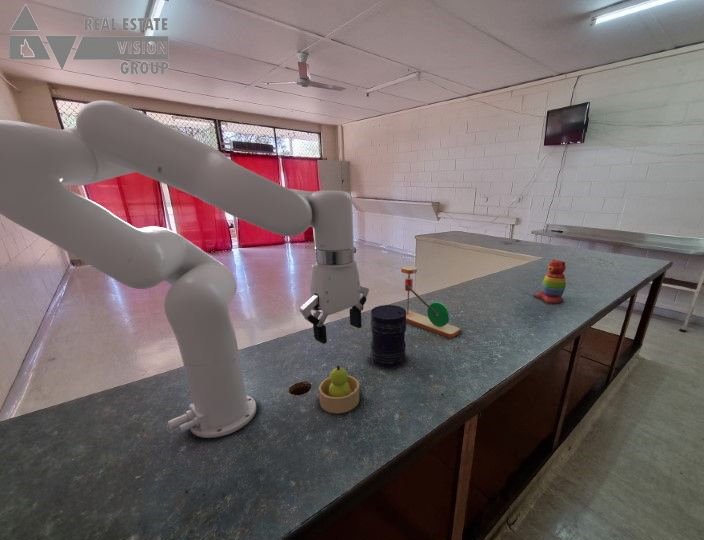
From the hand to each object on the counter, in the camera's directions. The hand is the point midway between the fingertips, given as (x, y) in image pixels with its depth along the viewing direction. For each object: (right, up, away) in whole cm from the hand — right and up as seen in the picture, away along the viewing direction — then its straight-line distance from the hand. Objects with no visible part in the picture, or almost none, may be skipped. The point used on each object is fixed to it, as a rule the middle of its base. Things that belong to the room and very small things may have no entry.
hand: (339, 333), depth 69 cm
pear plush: (-1, -16, +5) cm, 16 cm away
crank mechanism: (+23, -2, +45) cm, 51 cm away
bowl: (-1, -16, +5) cm, 17 cm away
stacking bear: (+81, +8, +74) cm, 110 cm away
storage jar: (+10, -10, +22) cm, 26 cm away
